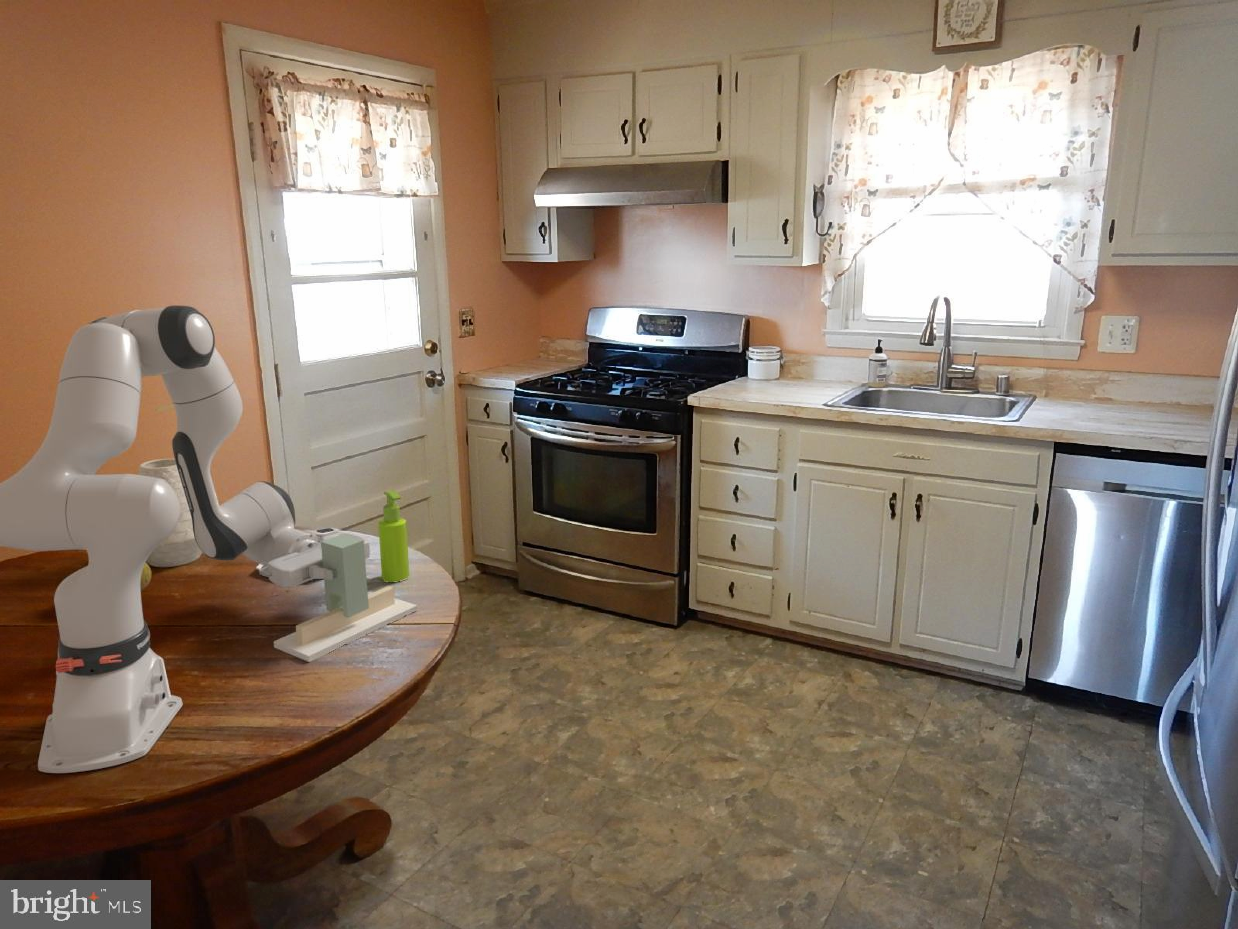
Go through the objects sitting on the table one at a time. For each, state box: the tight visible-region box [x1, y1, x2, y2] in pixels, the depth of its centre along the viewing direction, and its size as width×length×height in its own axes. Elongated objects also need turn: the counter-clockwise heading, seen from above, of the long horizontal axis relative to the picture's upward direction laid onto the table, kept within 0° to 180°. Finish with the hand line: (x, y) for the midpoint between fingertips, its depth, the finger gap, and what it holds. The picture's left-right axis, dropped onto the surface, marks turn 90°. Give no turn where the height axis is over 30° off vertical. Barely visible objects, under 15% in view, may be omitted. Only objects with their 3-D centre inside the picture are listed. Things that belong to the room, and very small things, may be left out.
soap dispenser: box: [377, 489, 410, 583], centre depth 186 cm, size 6×7×20 cm
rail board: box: [273, 585, 418, 663], centre depth 164 cm, size 26×10×5 cm, turn 147°
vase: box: [137, 458, 203, 568], centre depth 196 cm, size 17×17×23 cm
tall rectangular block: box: [321, 534, 369, 618], centre depth 162 cm, size 5×6×14 cm
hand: (347, 569), depth 161 cm, fingers closed on tall rectangular block, 5 cm apart
